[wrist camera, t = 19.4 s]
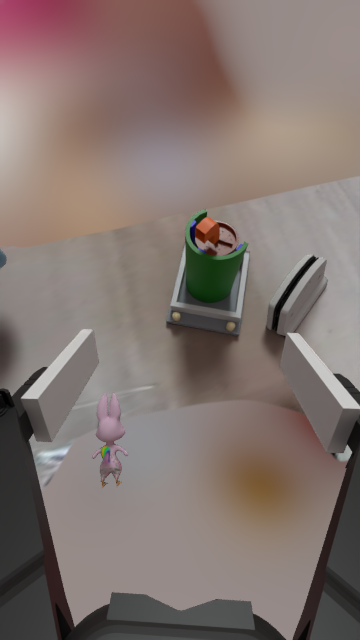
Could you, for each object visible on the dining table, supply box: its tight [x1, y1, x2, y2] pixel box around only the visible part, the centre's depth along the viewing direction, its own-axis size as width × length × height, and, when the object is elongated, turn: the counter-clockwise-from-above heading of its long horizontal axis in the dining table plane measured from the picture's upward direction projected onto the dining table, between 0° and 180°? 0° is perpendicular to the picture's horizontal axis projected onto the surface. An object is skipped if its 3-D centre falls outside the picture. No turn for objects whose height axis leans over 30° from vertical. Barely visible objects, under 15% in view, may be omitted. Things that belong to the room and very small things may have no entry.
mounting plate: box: [166, 245, 250, 336], centre depth 51 cm, size 15×20×4 cm
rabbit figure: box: [92, 393, 128, 487], centre depth 41 cm, size 6×6×15 cm
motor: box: [185, 209, 248, 303], centre depth 43 cm, size 10×9×20 cm
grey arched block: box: [266, 254, 328, 336], centre depth 48 cm, size 17×5×10 cm, turn 141°
